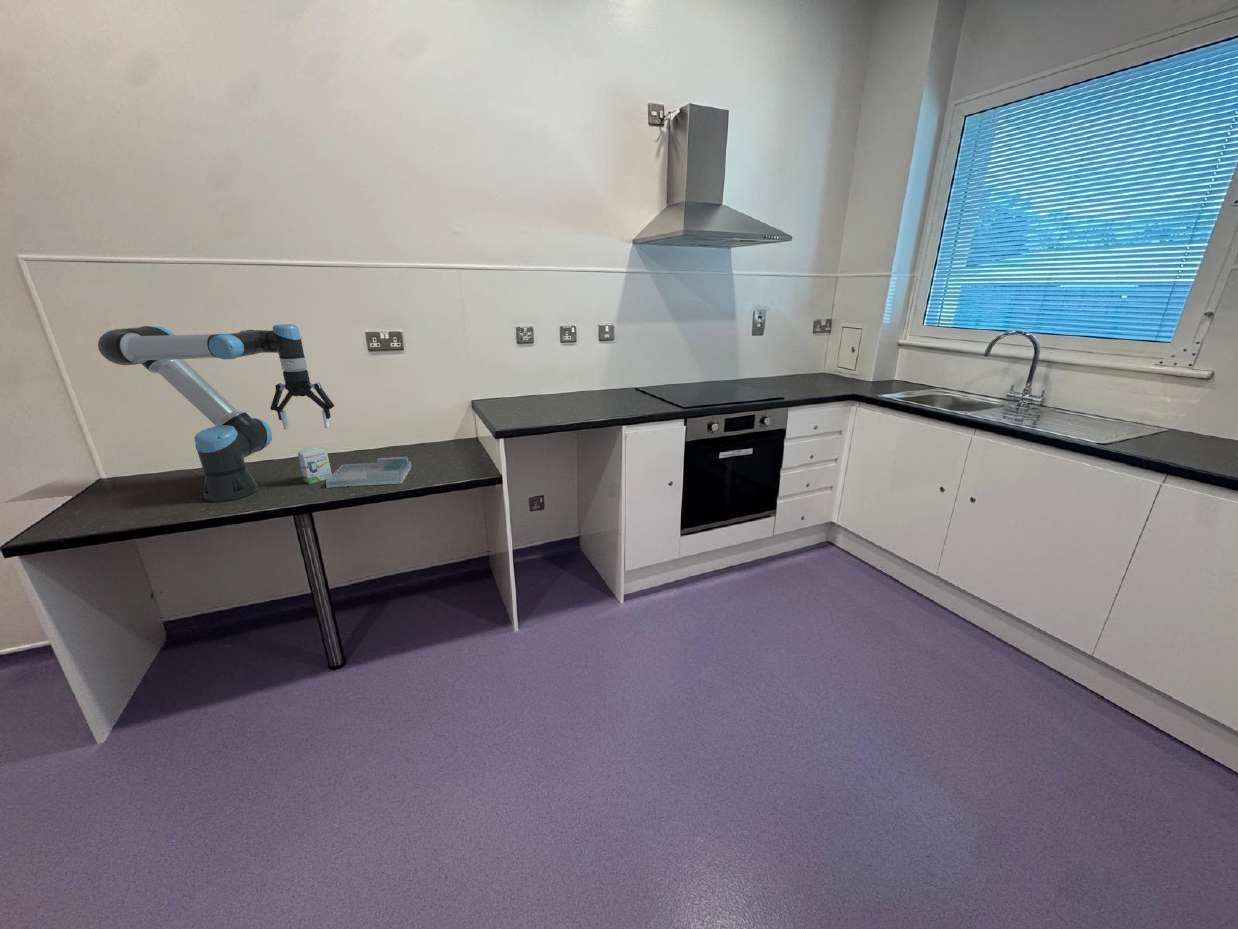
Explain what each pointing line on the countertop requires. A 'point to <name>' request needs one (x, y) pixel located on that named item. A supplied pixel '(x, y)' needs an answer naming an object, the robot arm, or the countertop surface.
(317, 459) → the ink box
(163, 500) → the countertop surface
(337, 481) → the keyhole tray
